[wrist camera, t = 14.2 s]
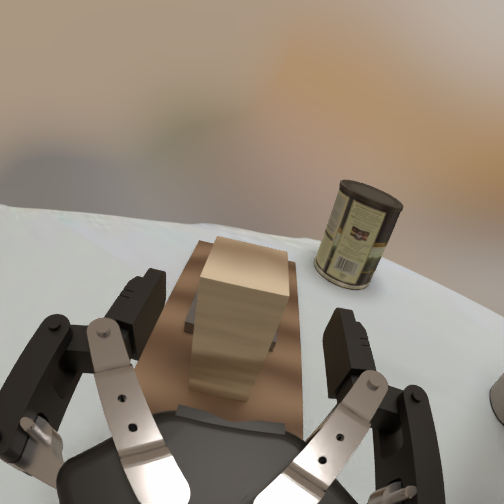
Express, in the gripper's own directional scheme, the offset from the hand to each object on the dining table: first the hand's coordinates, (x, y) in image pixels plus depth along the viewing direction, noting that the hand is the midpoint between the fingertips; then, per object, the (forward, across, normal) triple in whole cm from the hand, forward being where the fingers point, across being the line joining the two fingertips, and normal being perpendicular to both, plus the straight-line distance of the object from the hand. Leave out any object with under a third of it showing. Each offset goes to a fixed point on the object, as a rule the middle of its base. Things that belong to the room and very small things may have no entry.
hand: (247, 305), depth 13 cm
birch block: (+5, 0, +13) cm, 14 cm away
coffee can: (+29, -15, +14) cm, 36 cm away
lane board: (+13, +1, +14) cm, 19 cm away
